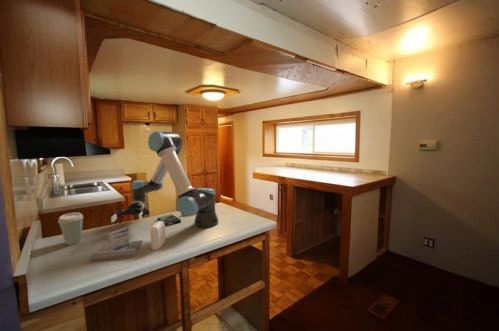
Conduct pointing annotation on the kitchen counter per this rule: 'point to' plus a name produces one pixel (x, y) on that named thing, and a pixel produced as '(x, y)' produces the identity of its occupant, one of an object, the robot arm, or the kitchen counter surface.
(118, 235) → the medicine box
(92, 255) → the dock
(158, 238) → the photo printer
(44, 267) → the kitchen counter surface
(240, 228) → the kitchen counter surface
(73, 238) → the disposable coffee cup
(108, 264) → the kitchen counter surface
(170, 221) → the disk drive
